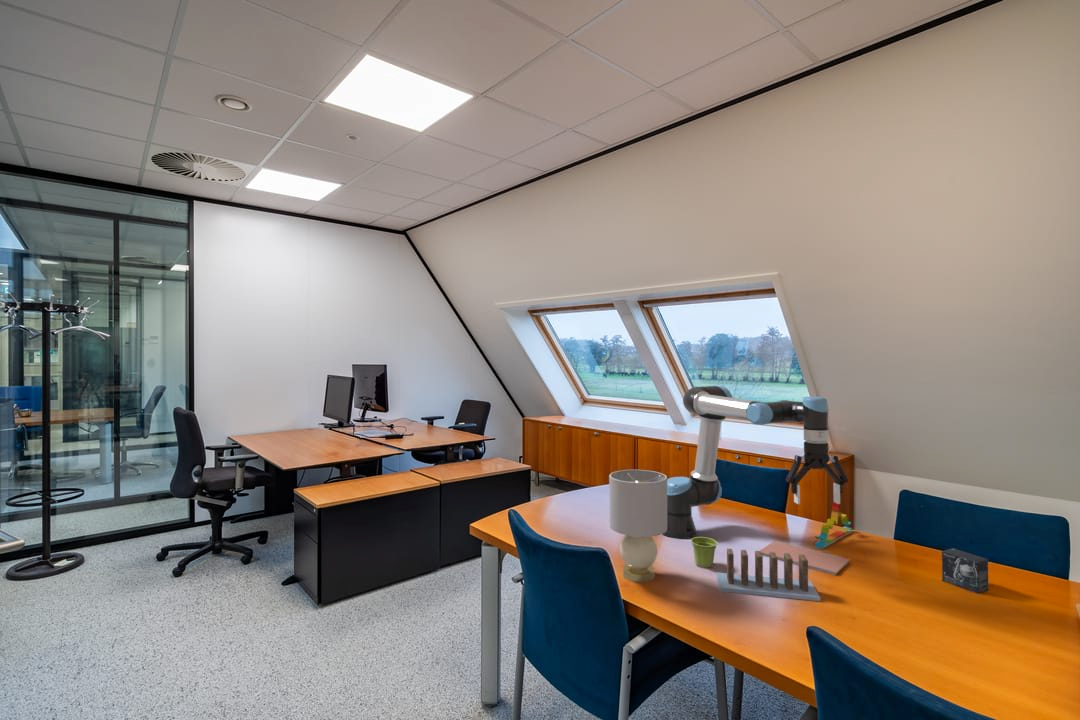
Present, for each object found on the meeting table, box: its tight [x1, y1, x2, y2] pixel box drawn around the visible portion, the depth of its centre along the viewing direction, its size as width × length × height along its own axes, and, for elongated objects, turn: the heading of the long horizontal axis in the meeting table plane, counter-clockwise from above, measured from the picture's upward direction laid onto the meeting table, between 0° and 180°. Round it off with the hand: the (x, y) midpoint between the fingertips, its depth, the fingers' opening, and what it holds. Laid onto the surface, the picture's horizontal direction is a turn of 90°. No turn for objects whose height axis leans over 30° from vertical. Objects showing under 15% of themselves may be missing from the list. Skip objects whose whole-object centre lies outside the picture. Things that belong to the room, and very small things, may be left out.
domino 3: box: [754, 550, 764, 587], centre depth 169 cm, size 2×5×10 cm, turn 166°
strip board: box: [715, 572, 821, 602], centre depth 169 cm, size 30×12×1 cm, turn 76°
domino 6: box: [798, 554, 809, 592], centre depth 166 cm, size 2×5×10 cm, turn 166°
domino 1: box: [726, 548, 735, 584], centre depth 172 cm, size 2×5×10 cm, turn 166°
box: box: [941, 548, 990, 594], centre depth 169 cm, size 11×7×10 cm, turn 23°
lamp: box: [608, 469, 668, 583], centre depth 179 cm, size 20×20×35 cm
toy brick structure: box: [814, 501, 853, 550], centre depth 213 cm, size 30×3×15 cm, turn 129°
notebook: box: [759, 540, 850, 576], centre depth 193 cm, size 27×17×2 cm, turn 44°
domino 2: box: [740, 549, 749, 586], centre depth 171 cm, size 2×5×10 cm, turn 166°
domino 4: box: [768, 552, 779, 589], centre depth 168 cm, size 2×5×10 cm, turn 166°
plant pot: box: [690, 536, 718, 569], centre depth 188 cm, size 9×9×9 cm
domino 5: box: [783, 553, 794, 590], centre depth 167 cm, size 2×5×10 cm, turn 166°
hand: (816, 503), depth 176 cm, fingers open, 13 cm apart
